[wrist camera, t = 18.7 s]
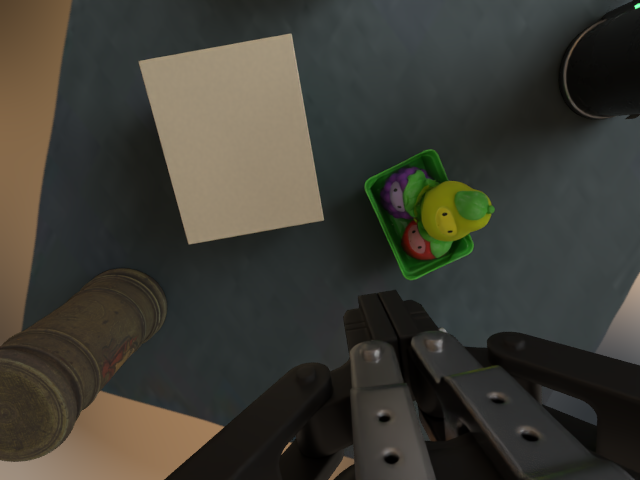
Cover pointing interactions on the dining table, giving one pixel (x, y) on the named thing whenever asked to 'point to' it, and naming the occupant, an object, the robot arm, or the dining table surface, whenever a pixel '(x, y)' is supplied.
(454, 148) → the dining table surface
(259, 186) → the lid
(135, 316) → the container
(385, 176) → the fruit basket
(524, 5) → the dining table surface
